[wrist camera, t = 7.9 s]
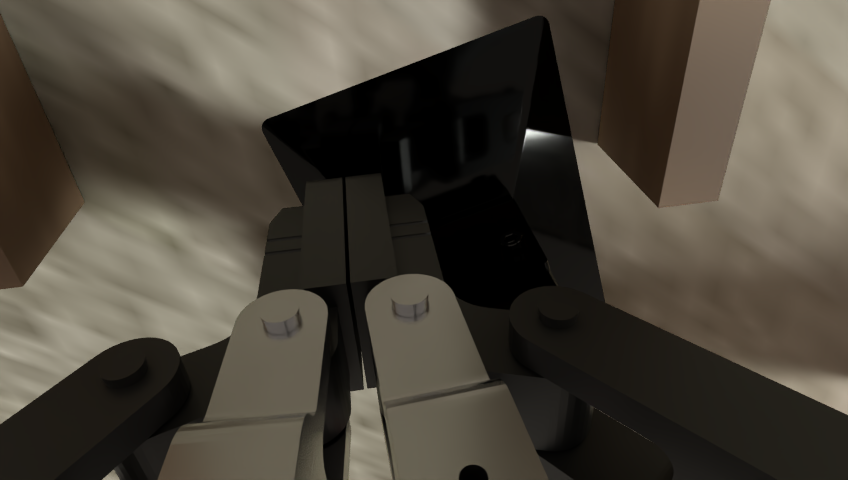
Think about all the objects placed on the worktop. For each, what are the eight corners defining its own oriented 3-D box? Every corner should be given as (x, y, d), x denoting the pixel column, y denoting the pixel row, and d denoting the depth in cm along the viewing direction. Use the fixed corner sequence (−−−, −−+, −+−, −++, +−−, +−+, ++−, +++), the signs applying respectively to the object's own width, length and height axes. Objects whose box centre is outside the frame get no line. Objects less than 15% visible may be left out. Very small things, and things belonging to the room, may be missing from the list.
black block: (622, 362, 19) (698, 493, 15) (413, 433, 19) (434, 577, 15) (549, -28, 12) (658, 28, 8) (221, 100, 12) (171, 213, 8)
